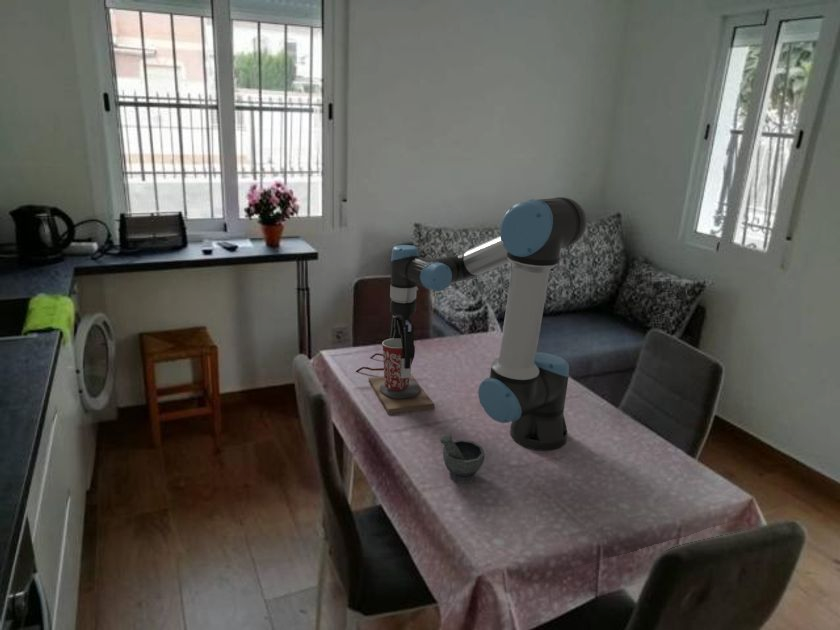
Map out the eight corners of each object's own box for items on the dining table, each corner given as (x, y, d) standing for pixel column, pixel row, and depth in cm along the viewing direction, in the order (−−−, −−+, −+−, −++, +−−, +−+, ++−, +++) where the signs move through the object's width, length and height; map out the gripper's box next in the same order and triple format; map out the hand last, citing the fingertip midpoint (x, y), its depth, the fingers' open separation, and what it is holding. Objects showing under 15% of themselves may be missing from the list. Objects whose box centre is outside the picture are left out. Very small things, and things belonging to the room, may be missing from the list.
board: (433, 408, 176) (434, 400, 175) (387, 414, 172) (387, 406, 171) (410, 377, 196) (410, 370, 195) (368, 381, 191) (368, 374, 190)
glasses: (392, 379, 195) (392, 365, 193) (354, 373, 198) (354, 359, 197) (405, 364, 207) (405, 351, 205) (369, 358, 210) (369, 345, 209)
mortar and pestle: (470, 461, 150) (474, 418, 146) (489, 482, 142) (494, 437, 138) (429, 470, 146) (432, 426, 142) (447, 492, 138) (450, 446, 134)
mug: (398, 393, 175) (399, 349, 172) (375, 386, 180) (375, 343, 177) (425, 381, 185) (426, 339, 181) (401, 374, 190) (402, 333, 187)
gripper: (428, 309, 166) (424, 384, 173) (404, 288, 185) (402, 356, 192) (402, 311, 163) (399, 387, 170) (380, 289, 182) (379, 358, 190)
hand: (400, 371), depth 181 cm, fingers closed on mug, 9 cm apart
